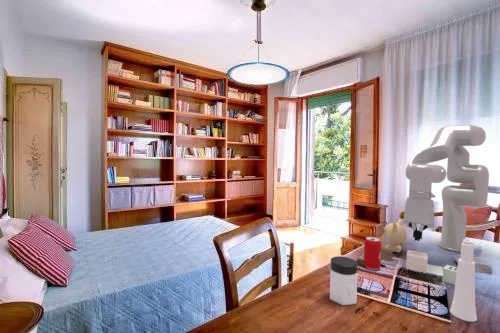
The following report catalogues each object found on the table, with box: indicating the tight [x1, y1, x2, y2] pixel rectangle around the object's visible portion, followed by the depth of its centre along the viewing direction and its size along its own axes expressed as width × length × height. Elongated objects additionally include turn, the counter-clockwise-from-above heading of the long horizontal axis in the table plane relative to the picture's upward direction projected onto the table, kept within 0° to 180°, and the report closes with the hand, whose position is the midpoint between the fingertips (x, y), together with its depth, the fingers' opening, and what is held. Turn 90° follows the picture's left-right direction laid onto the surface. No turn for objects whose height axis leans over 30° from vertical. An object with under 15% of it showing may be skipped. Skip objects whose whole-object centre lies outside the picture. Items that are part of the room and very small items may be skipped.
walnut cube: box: [381, 244, 394, 261], centre depth 118 cm, size 5×5×5 cm
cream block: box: [405, 249, 429, 274], centre depth 108 cm, size 7×7×6 cm
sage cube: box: [442, 264, 458, 286], centre depth 96 cm, size 5×5×5 cm
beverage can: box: [363, 236, 382, 271], centre depth 107 cm, size 6×6×12 cm
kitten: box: [382, 218, 407, 253], centre depth 127 cm, size 15×10×15 cm
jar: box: [329, 255, 359, 306], centre depth 84 cm, size 9×8×12 cm
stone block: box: [453, 254, 493, 274], centre depth 110 cm, size 12×5×10 cm
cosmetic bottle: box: [449, 239, 478, 323], centre depth 76 cm, size 6×6×22 cm
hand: (417, 240), depth 107 cm, fingers closed
